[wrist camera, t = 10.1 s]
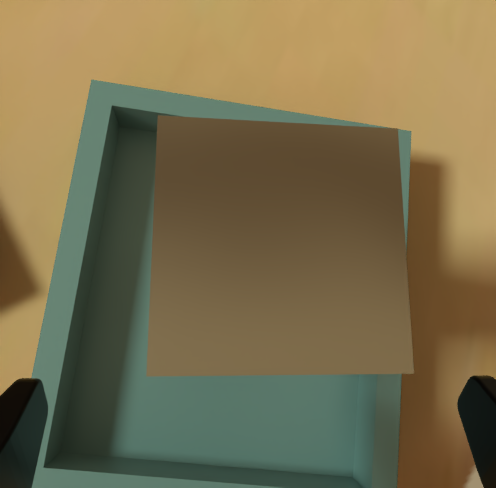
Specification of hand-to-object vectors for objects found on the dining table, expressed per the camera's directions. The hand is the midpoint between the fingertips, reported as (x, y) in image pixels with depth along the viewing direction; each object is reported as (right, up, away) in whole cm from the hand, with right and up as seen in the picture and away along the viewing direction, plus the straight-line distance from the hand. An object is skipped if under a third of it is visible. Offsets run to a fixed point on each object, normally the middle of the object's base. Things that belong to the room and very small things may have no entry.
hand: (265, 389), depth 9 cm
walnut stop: (-1, +1, +10) cm, 10 cm away
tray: (-1, +1, +11) cm, 11 cm away
